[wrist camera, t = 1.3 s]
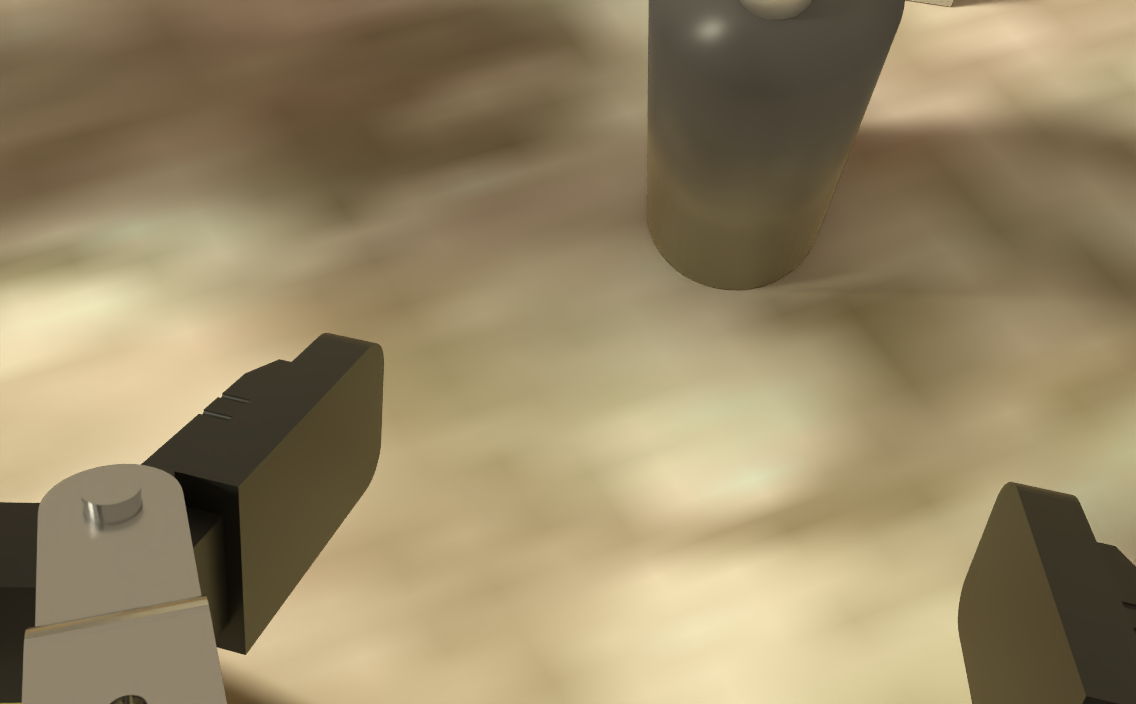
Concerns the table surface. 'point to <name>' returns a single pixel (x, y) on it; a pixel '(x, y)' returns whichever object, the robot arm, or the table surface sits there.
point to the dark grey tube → (754, 126)
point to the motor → (936, 2)
